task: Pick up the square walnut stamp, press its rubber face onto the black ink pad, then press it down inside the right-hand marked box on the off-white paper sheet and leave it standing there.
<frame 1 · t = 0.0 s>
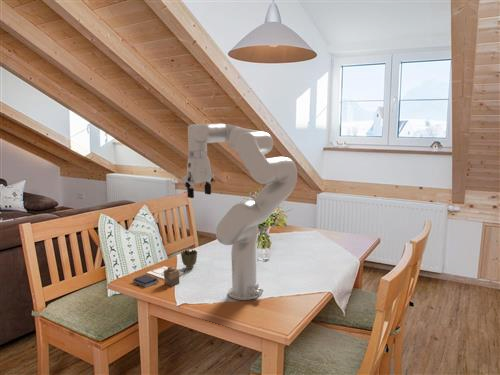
hand: (199, 195, 175), 37 cm above the table, tool pointing down, fingers open, 9 cm apart
stamp: (171, 283, 178), on the table
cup: (189, 268, 196), on the table
ink pad: (145, 282, 180), on the table
sheet: (165, 273, 190), on the table
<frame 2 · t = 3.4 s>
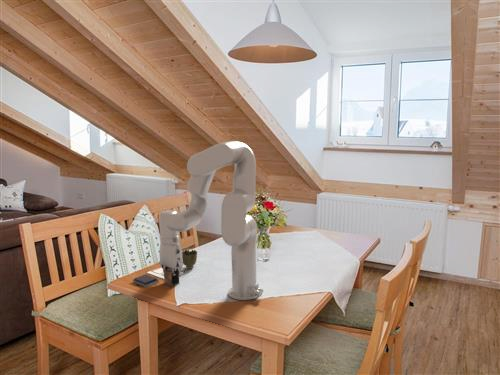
hand: (171, 281, 178), 1 cm above the table, tool pointing down, fingers closed on stamp, 4 cm apart
stamp: (171, 283, 178), on the table, touching gripper
everything else where it was.
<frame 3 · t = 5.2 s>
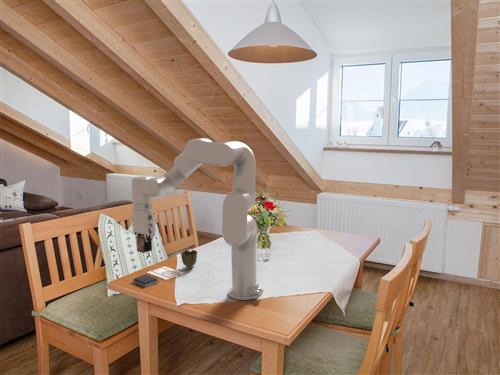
hand: (144, 248, 177), 15 cm above the table, tool pointing down, fingers closed on stamp, 4 cm apart
stamp: (144, 250, 177), point 14 cm above the table, touching gripper
everything else where it was.
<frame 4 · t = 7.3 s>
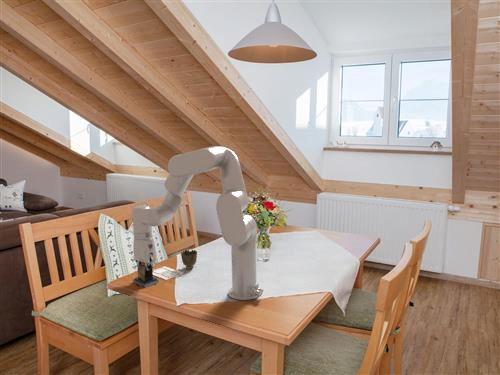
hand: (145, 276, 179), 3 cm above the table, tool pointing down, fingers closed on stamp, 4 cm apart
stamp: (145, 278, 179), point 2 cm above the table, touching gripper, ink pad
everything else where it was.
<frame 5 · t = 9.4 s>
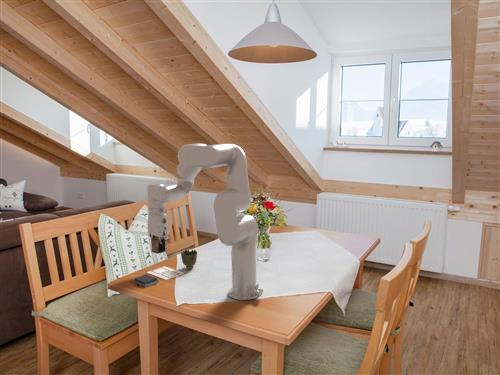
hand: (158, 249, 191), 10 cm above the table, tool pointing down, fingers closed on stamp, 4 cm apart
stamp: (158, 251, 191), point 9 cm above the table, touching gripper
everything else where it was.
when the fingers open (1 cm above the table, at t = 11.1 s): stamp stays where it is, resting on sheet.
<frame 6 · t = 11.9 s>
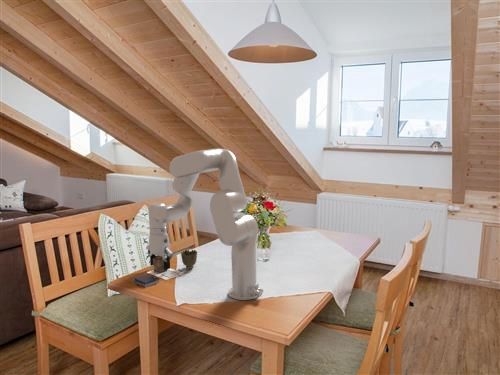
hand: (160, 266, 192), 2 cm above the table, tool pointing down, fingers open, 9 cm apart
stamp: (160, 270, 192), resting on sheet
everything else where it was.
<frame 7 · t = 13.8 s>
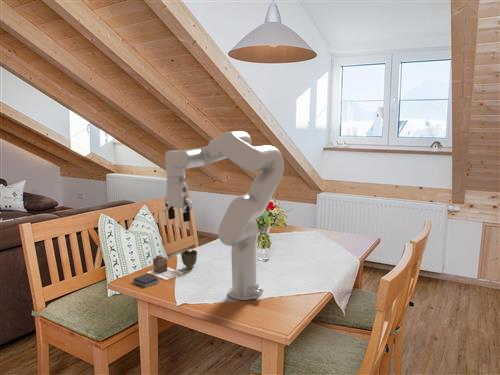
hand: (179, 220, 178), 26 cm above the table, tool pointing down, fingers open, 9 cm apart
nothing on the table moved.
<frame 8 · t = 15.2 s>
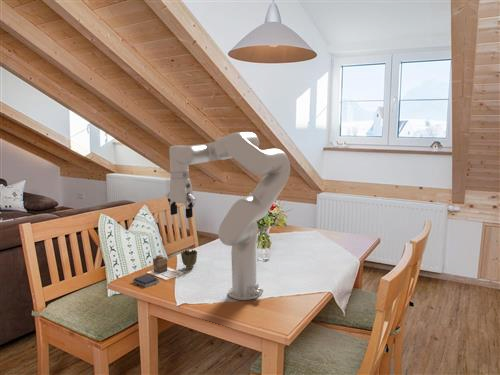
hand: (181, 215, 177), 28 cm above the table, tool pointing down, fingers open, 9 cm apart
nothing on the table moved.
at the end: stamp 0.1 cm from the target spot on the sheet, point 0.3 cm above the sheet's base; stamp tilted 0°; the gripper is holding nothing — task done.
